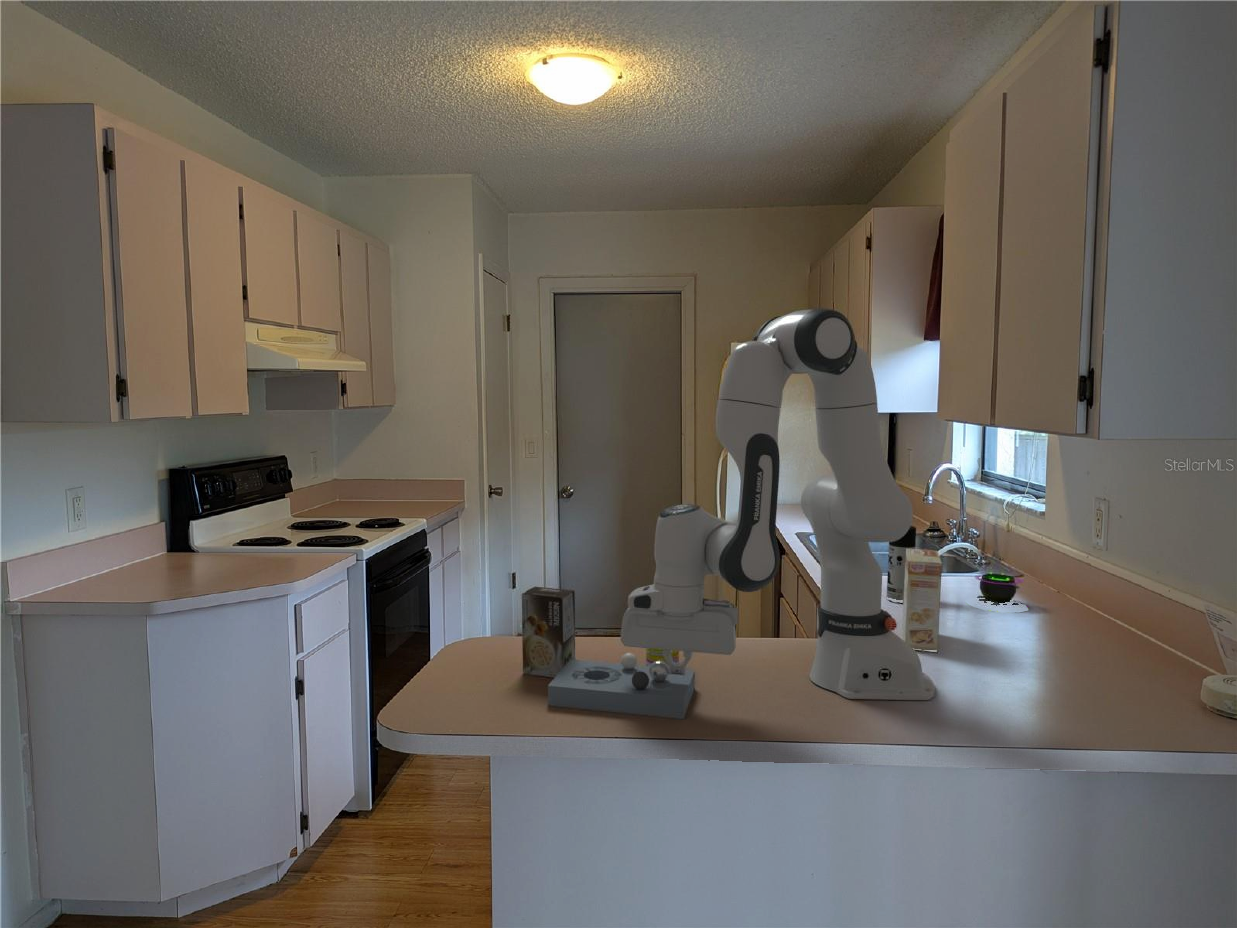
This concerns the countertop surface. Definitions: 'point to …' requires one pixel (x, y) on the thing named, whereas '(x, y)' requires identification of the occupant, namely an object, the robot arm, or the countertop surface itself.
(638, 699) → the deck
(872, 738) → the countertop surface
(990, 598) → the toy cauldron
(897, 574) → the spray can
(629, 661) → the cream ball
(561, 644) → the coffee box
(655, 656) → the supplement bottle
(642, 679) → the black ball
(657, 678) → the steel ball
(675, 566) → the robot arm
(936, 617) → the coffeecake box
